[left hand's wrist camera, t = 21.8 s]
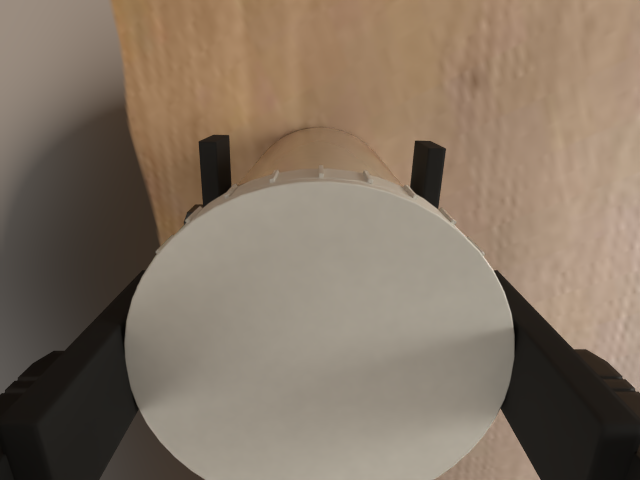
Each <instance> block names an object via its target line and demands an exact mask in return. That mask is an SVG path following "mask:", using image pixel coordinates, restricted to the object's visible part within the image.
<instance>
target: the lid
mask: <svg viewBox="0 0 640 480" xmlns="http://www.w3.org/2000/svg"><path fill="white" fill-rule="evenodd" d="M185 221H186V224H185V225H184V226H183V227H182V228H181V229H180V230H179V231H178V232H177V233H176V234H175V235H171V236H170V237H169V238H168V239H167V240H166V241H165V242H164V243H163V244H162V245H161V246H160V247H159V248H158V249H157V251H156V253H157V255H156V256H155V257H154V259H153V261H152V262H151V264H150V265H149V267H148V268H147V270H146V271H145V273H144V274H143V276H142V278H141V280H140V282H139V284H138V286H137V289H136V291H135V293H134V296H133V298H132V301H131V305H130V309H129V313H128V316H127V320H126V329H125V339H124V350H125V360H126V366H127V371H128V377H129V382H130V387H131V390H132V393H133V396H134V398H135V401H136V404H137V406H138V408H139V410H140V412H141V413H142V415H143V417H144V419H145V421H146V423H147V424H148V426H149V427H150V428H151V430H152V431H153V432H154V434H155V435H156V437H157V438H158V439H159V441H160V442H161V443H162V444H163V445H164V446H165V447H166V448H167V449H168V450H169V451H170V452H171V453H172V455H173V456H174V457H176V458H177V459H178V460H179V461H180V462H182V463H183V464H184V465H185V466H186V467H188V468H189V469H190V470H191V471H193V472H194V473H196V474H198V475H199V476H201V477H202V478H204V479H205V480H434V479H436V478H437V477H439V476H440V475H442V474H443V473H444V472H446V471H447V470H449V469H450V468H451V467H453V466H454V465H455V464H456V463H458V462H459V461H460V460H461V459H462V458H463V457H464V456H465V455H466V454H468V453H469V452H470V451H471V450H472V448H473V447H474V446H475V445H476V444H477V443H478V442H479V440H480V439H481V438H482V437H483V436H484V434H485V433H486V431H487V430H488V428H489V427H490V425H491V424H492V422H493V421H494V420H495V418H496V416H497V414H498V412H499V410H500V408H501V406H502V404H503V402H504V400H505V397H506V393H507V390H508V387H509V384H510V379H511V374H512V368H513V363H514V357H515V334H514V328H513V321H512V314H511V311H510V308H509V305H508V301H507V298H506V295H505V292H504V290H503V288H502V286H501V284H500V282H499V280H498V278H497V276H496V274H495V272H494V270H493V269H492V267H491V266H490V265H489V263H488V262H487V260H486V259H485V258H484V255H485V253H484V252H483V251H482V250H481V249H480V248H479V247H478V246H477V245H476V244H475V243H474V242H473V241H472V240H471V239H470V238H469V237H466V236H465V235H464V234H463V233H462V232H461V231H460V230H459V229H458V228H457V227H456V226H455V224H456V221H455V220H454V219H453V218H452V217H451V216H450V215H449V214H448V213H447V212H446V211H445V210H444V209H442V208H440V209H439V210H438V209H437V208H435V207H434V206H433V205H432V204H430V203H429V202H428V201H426V200H425V199H424V198H422V197H420V196H418V195H416V194H415V193H414V191H413V190H412V189H411V188H410V187H409V186H407V185H405V186H404V187H402V186H400V185H397V184H394V183H392V182H389V181H387V180H384V179H382V178H379V177H375V176H371V175H370V174H369V172H368V171H366V170H364V171H363V173H359V172H355V171H347V170H338V169H329V168H327V169H323V165H319V169H299V170H293V171H286V172H280V173H279V171H278V170H274V172H273V174H272V175H268V176H265V177H261V178H258V179H254V180H252V181H249V182H247V183H245V184H243V185H240V186H237V184H234V185H232V187H231V188H230V189H229V190H228V191H227V192H226V193H224V194H223V195H221V196H220V197H218V198H216V199H215V200H213V201H212V202H210V203H208V204H207V205H206V206H205V207H204V208H203V209H202V207H201V206H199V207H198V208H197V209H196V210H195V211H194V212H193V213H192V214H191V215H190V216H189V217H188V218H187V219H186V220H185Z"/></svg>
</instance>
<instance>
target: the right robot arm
mask: <svg viewBox="0 0 640 480" xmlns="http://www.w3.org/2000/svg"><path fill="white" fill-rule="evenodd" d="M445 152H446V149H445V148H443V147H441V146H439V145H437V144H435V143H433V142H431V141H415V147H414V156H413V166H412V175H411V185H410V188H411V189H412V190H413V191H414V193H415V194H416V195H418V196H420V197H422V198H424V199H425V200H426V201H428V202H429V203H430V204H432V205H433V206H434V207H435V208H437V209H438V205H439V198H440V190H441V182H442V175H443V167H444V159H445ZM199 153H200V168H201V182H202V196H203V205H194V206H193V207H192V208H191V209H190V210H189V211H188V212H187V215H186V218H185V220H186V219H187V218H188V217H189V216H190V215H191V214H192V213H193V212H194V211H195V210H196V209H197V208H198V207H199V206H201V207H202V209H203V208H204V207H205V206H206V205H207V204H208V203H210V202H212V201H213V200H215V199H216V198H218V197H220V196H221V195H223V194H224V193H226V192H227V191H228V190H229V189H230V188H231V168H230V146H229V135H212V136H210V137H208V138H206V139H203V140H201V141H199ZM185 224H186V221H184V225H185Z"/></svg>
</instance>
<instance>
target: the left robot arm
mask: <svg viewBox="0 0 640 480" xmlns="http://www.w3.org/2000/svg"><path fill="white" fill-rule="evenodd" d="M145 271H146V270H144V271H141V273H140V274H139V275H138V276H137V277H136V278H135V279H134V280H133V281H132V282H131V283H130V284H129V285H128V286H127V287H126V288H125V289H124V290H123V291H122V292H121V293H120V294H119V295H118V296H117V297H116V298H115V299H114V300H113V301H112V302H111V303H110V305H109V306H108V307H107V308H106V309H105V310H104V311H103V312H102V313H101V314H100V315H99V316H98V317H97V318H96V319H95V320H94V321H93V322H92V323H91V324H90V325H89V326H88V327H87V328H86V329H85V330H84V331H83V332H82V333H81V335H80V336H79V337H78V338H77V339H76V340H75V341H74V342H73V343H72V344H71V345H70V346H69V347H68V348H67V349H66V350H65V351H53V352H51V353H50V354H48V355H46V356H45V357H43V358H41V359H39V360H38V361H36V362H34V363H33V364H32V365H31V366H30V367H29V368H28V369H27V370H26V371H24V372H23V373H22V374H21V375H20V376H19V377H18V380H17V381H14V382H13V383H12V384H11V385H10V386H9V387H8V388H7V389H6V390H5V393H2V394H1V395H0V480H99V479H100V477H101V475H102V473H103V472H104V470H105V468H106V466H107V464H108V463H109V461H110V459H111V457H112V456H113V454H114V452H115V450H116V449H117V447H118V445H119V443H120V441H121V440H122V438H123V436H124V434H125V432H126V431H127V429H128V427H129V425H130V424H131V422H132V420H133V418H134V416H135V415H136V413H137V411H138V409H139V408H138V406H137V404H136V401H135V398H134V396H133V393H132V390H131V387H130V382H129V377H128V371H127V366H126V360H125V350H124V339H125V329H126V320H127V316H128V313H129V309H130V305H131V301H132V298H133V296H134V293H135V291H136V289H137V286H138V284H139V282H140V280H141V278H142V276H143V274H144V273H145ZM494 272H495V274H496V276H497V278H498V280H499V282H500V284H501V286H502V288H503V290H504V292H505V295H506V298H507V301H508V305H509V308H510V311H511V314H512V321H513V328H514V334H515V357H514V363H513V368H512V374H511V379H510V384H509V387H508V390H507V393H506V397H505V400H504V402H503V404H502V406H501V410H502V412H503V413H504V415H505V417H506V419H507V421H508V422H509V424H510V426H511V428H512V429H513V431H514V433H515V435H516V437H517V438H518V440H519V442H520V444H521V445H522V447H523V449H524V451H525V453H526V454H527V456H528V458H529V460H530V461H531V463H532V465H533V467H534V469H535V470H536V472H537V474H538V476H539V477H540V479H541V480H640V393H639V392H636V391H635V388H634V387H633V386H632V385H631V384H630V383H629V382H628V381H627V380H626V379H623V378H622V376H621V375H620V374H619V373H618V372H617V371H616V370H615V369H614V368H613V367H612V366H611V365H610V364H609V363H608V362H607V361H605V360H603V359H601V358H600V357H598V356H596V355H595V354H593V353H591V352H590V351H588V350H586V349H573V348H572V347H571V346H570V345H569V344H568V343H567V342H566V341H565V340H564V339H563V338H562V337H561V336H560V335H559V334H558V333H557V332H556V331H555V330H554V329H553V328H552V327H551V325H550V324H549V323H548V322H547V321H546V320H545V319H544V318H543V317H542V316H541V315H540V314H539V313H538V312H537V311H536V310H535V309H534V308H533V307H532V306H531V305H530V304H529V303H528V302H527V301H526V300H525V299H524V298H523V297H522V295H521V294H520V293H519V292H518V291H517V290H516V289H515V288H514V287H513V286H512V285H511V284H510V283H509V282H508V281H507V280H506V279H505V278H504V277H503V276H502V275H501V274H500V273H499V272H498V271H497V270H494Z"/></svg>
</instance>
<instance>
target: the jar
mask: <svg viewBox="0 0 640 480" xmlns="http://www.w3.org/2000/svg"><path fill="white" fill-rule="evenodd" d="M319 165H323V169H327V168H329V169H338V170H347V171H355V172H359V173H363V171H364V170H366V171H368V172H369V174H370V175H371V176H375V177H379V178H382V179H384V180H387V181H389V182H392V183H394V184H397V185H400V186H402V184H401V183H400V182H399V181H398V180H397V178H396V177H395V176H394V175H393V174H392V172H391V171H390V170H389V169H388V168H387V167H386V165H385V164H384V163H383V162H382V161H381V159H380V158H379V157H378V156H377V155H376V153H375V152H374V151H373V150H372V149H371V148H370V147H369V146H368V145H367V144H365V143H364V142H363V141H361V140H360V139H358V138H357V137H355V136H353V135H351V134H349V133H346V132H344V131H341V130H337V129H333V128H324V127H319V128H308V129H302V130H299V131H296V132H293V133H291V134H288V135H286V136H284V137H283V138H281V139H280V140H278V141H277V142H275V143H274V144H273V145H272V146H271V147H269V148H268V150H267V151H266V152H265V153H264V154H263V155H262V156H261V158H260V159H259V160H258V161H257V162H256V163H255V165H254V166H253V167H252V168H251V169H250V171H249V172H248V173H247V174H246V175H245V177H244V178H243V179H242V180H241V181H240V183H239V184H238V185H237V186H240V185H243V184H245V183H247V182H249V181H252V180H254V179H258V178H261V177H265V176H268V175H272V174H273V172H274V170H278V171H279V173H280V172H286V171H293V170H299V169H319ZM402 187H403V186H402Z"/></svg>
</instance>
